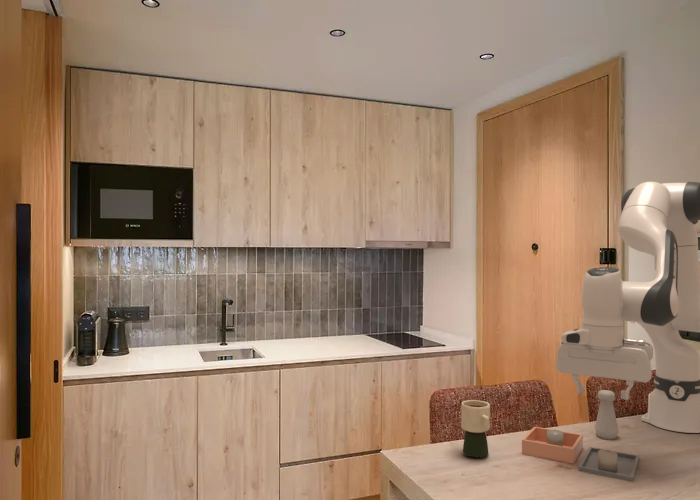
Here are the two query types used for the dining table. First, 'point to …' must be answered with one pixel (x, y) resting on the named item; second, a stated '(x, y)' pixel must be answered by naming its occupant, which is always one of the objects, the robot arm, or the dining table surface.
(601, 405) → the salt shaker
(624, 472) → the tray
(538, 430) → the open box
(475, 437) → the character mug
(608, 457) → the pebble
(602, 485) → the dining table surface
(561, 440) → the pebble
